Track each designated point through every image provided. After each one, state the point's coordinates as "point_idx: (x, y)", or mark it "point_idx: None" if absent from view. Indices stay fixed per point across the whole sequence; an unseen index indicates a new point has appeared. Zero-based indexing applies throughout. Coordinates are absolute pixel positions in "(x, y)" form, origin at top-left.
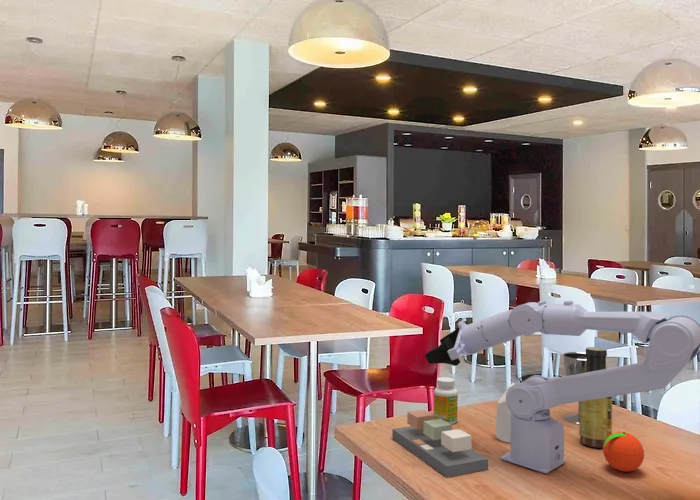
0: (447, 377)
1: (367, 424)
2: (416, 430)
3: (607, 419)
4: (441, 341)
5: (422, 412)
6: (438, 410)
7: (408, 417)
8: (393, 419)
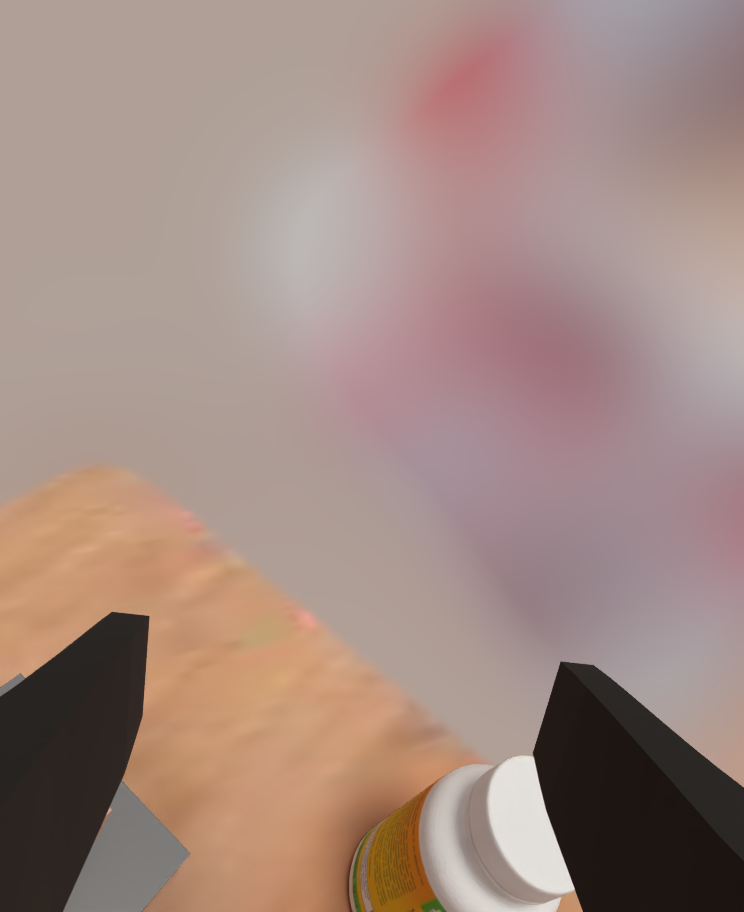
0: None
1: (185, 547)
2: None
3: None
4: (561, 689)
5: None
6: (378, 846)
7: None
8: (297, 632)
